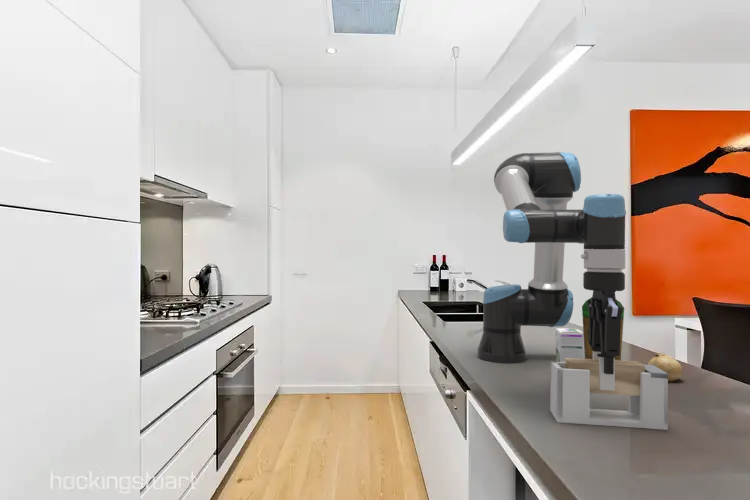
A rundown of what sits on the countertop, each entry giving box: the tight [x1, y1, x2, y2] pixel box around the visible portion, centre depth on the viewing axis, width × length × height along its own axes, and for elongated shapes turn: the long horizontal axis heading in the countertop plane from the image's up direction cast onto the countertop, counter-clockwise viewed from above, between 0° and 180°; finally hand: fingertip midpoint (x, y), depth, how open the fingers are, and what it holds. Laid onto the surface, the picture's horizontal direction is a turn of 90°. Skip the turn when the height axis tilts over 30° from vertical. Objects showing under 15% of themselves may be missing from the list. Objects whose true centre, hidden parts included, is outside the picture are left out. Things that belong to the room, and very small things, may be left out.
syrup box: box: [555, 327, 585, 362], centre depth 113 cm, size 6×6×14 cm
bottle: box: [581, 297, 625, 361], centre depth 125 cm, size 11×11×28 cm
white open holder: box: [549, 361, 669, 431], centre depth 91 cm, size 7×20×11 cm, turn 80°
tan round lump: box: [647, 352, 683, 383], centre depth 121 cm, size 8×8×7 cm
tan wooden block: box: [565, 358, 646, 396], centre depth 91 cm, size 4×14×6 cm, turn 80°
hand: (603, 386), depth 91 cm, fingers closed on tan wooden block, 3 cm apart
